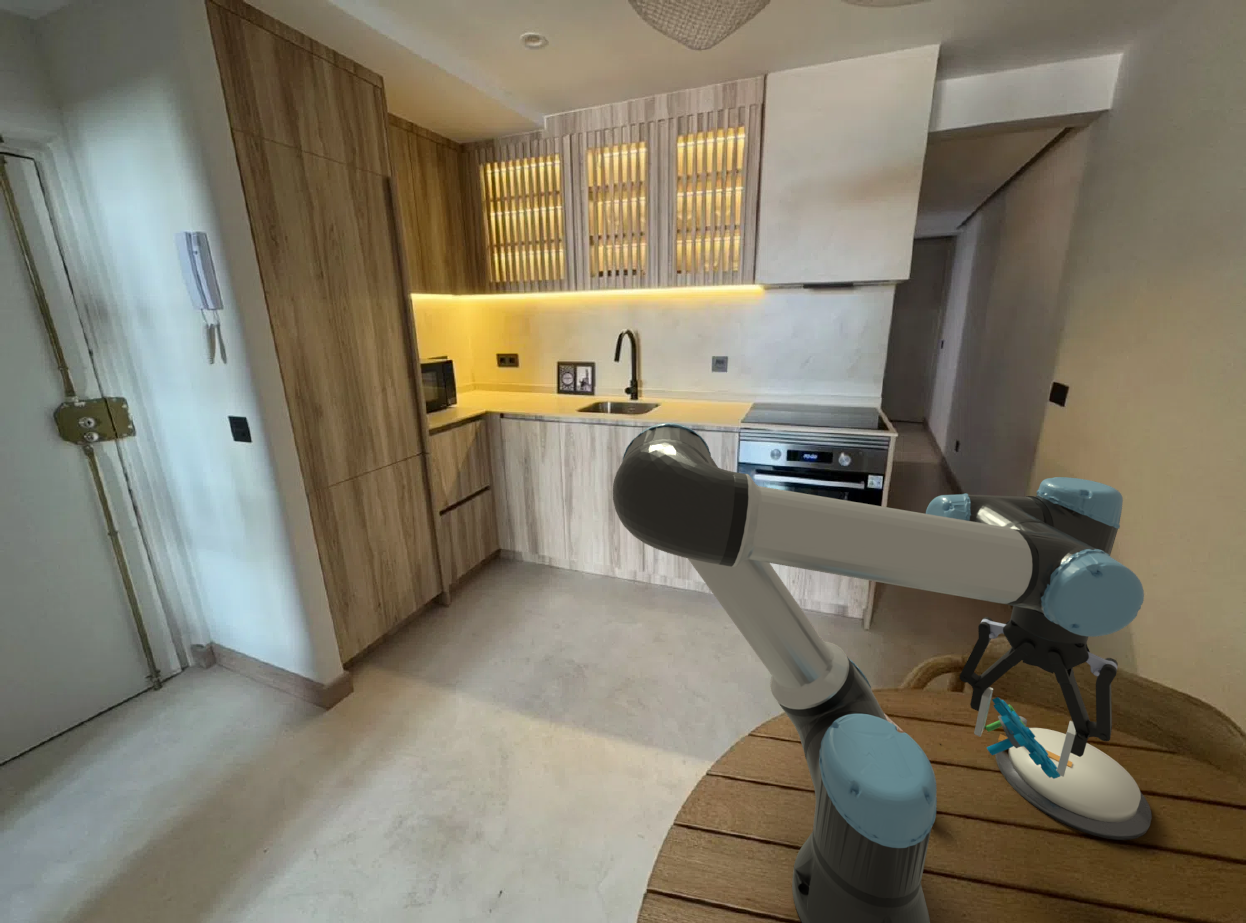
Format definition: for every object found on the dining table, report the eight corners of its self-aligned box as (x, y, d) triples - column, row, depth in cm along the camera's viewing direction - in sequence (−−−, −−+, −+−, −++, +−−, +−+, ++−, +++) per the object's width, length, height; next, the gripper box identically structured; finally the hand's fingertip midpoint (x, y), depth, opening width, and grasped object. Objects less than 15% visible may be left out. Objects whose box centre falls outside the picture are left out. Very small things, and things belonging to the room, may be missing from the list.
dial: (1141, 778, 76) (1151, 746, 75) (1132, 844, 67) (1143, 809, 65) (1019, 723, 87) (1026, 694, 86) (997, 773, 78) (1004, 741, 76)
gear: (1077, 793, 60) (1014, 722, 62) (1029, 811, 62) (970, 742, 64) (1045, 737, 70) (992, 677, 72) (1004, 754, 72) (954, 695, 74)
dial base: (983, 781, 78) (986, 768, 77) (1007, 720, 90) (1010, 708, 89) (1148, 868, 65) (1153, 853, 64) (1151, 783, 77) (1155, 770, 76)
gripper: (949, 581, 67) (923, 720, 73) (1178, 651, 52) (1124, 819, 58) (964, 563, 72) (939, 695, 78) (1177, 623, 57) (1127, 781, 63)
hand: (1018, 748), depth 68 cm, fingers closed on gear, 8 cm apart
